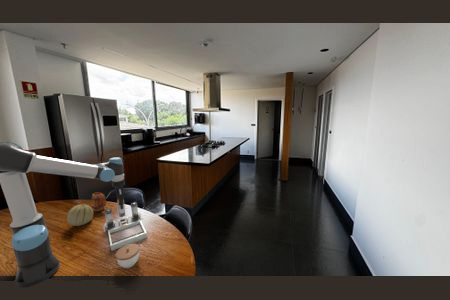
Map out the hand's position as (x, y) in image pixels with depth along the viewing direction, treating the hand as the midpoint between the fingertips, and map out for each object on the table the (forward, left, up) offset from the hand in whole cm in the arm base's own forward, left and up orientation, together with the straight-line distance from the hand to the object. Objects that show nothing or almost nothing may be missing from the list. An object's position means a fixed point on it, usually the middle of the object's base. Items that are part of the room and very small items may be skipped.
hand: (121, 211), depth 128 cm
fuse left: (0, +8, -9) cm, 11 cm away
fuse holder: (0, 0, -10) cm, 10 cm away
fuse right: (0, -8, -9) cm, 12 cm away
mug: (+33, +12, -10) cm, 37 cm away
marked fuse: (0, 0, -3) cm, 3 cm away
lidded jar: (-42, +3, -10) cm, 43 cm away
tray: (-17, 0, -10) cm, 20 cm away
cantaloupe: (+18, +24, -10) cm, 32 cm away
